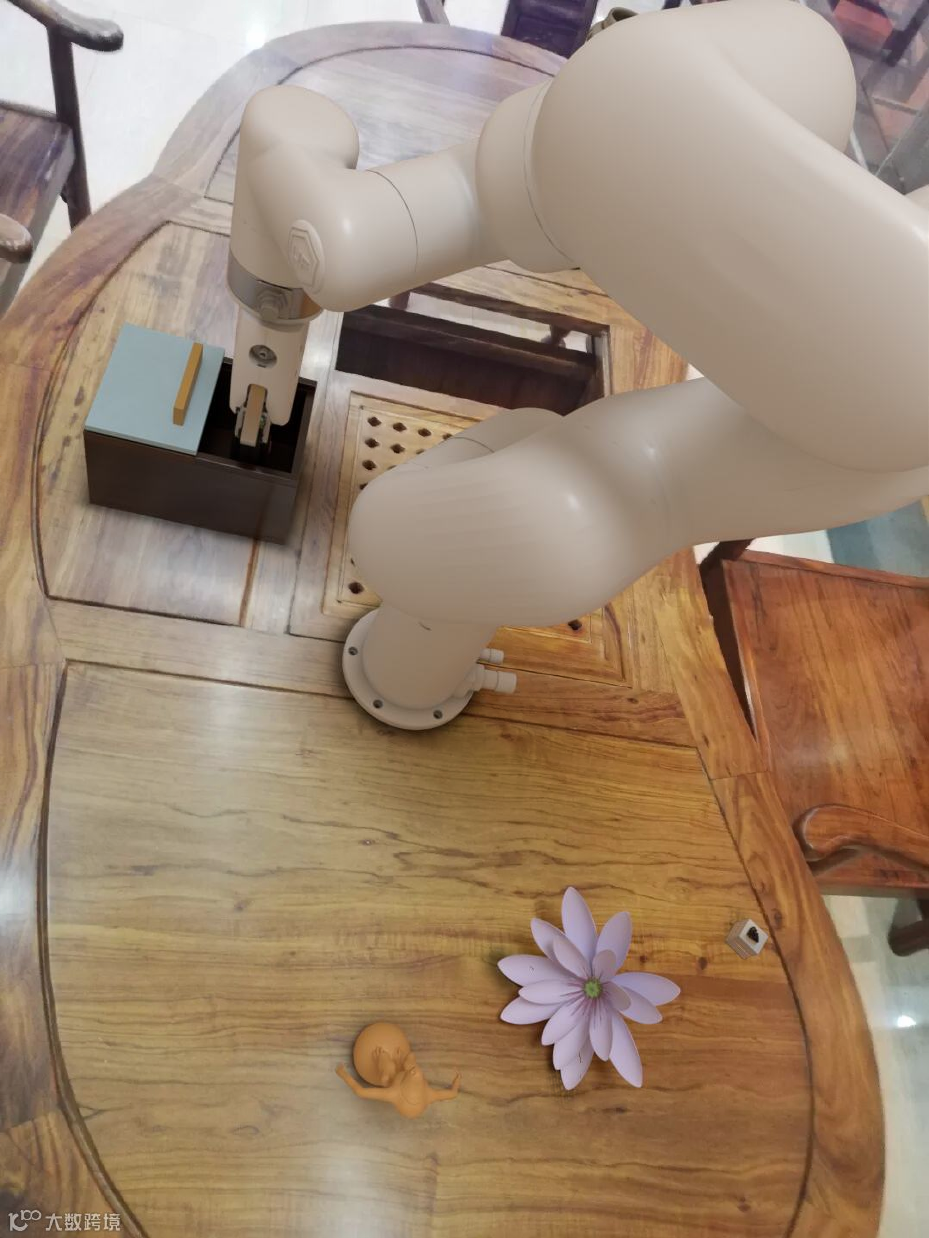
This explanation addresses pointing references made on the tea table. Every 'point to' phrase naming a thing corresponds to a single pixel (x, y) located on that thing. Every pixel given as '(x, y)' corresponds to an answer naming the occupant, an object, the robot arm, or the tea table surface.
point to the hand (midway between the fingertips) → (254, 435)
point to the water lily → (585, 991)
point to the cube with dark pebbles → (746, 938)
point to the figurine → (393, 1071)
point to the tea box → (206, 472)
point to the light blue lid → (156, 389)
